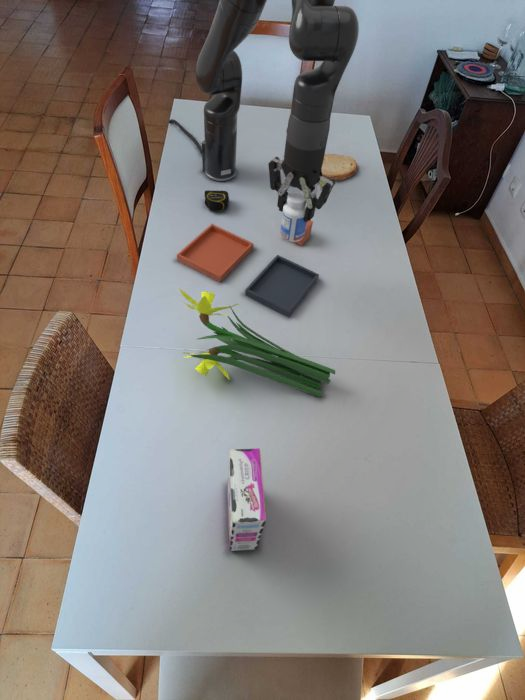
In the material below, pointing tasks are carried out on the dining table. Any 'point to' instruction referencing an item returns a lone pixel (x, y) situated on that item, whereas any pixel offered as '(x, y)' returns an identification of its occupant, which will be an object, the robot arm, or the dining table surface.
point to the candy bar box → (245, 499)
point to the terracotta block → (306, 233)
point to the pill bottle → (293, 217)
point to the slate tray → (282, 285)
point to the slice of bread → (338, 167)
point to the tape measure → (216, 200)
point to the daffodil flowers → (255, 353)
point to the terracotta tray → (215, 252)
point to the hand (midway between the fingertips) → (294, 214)
